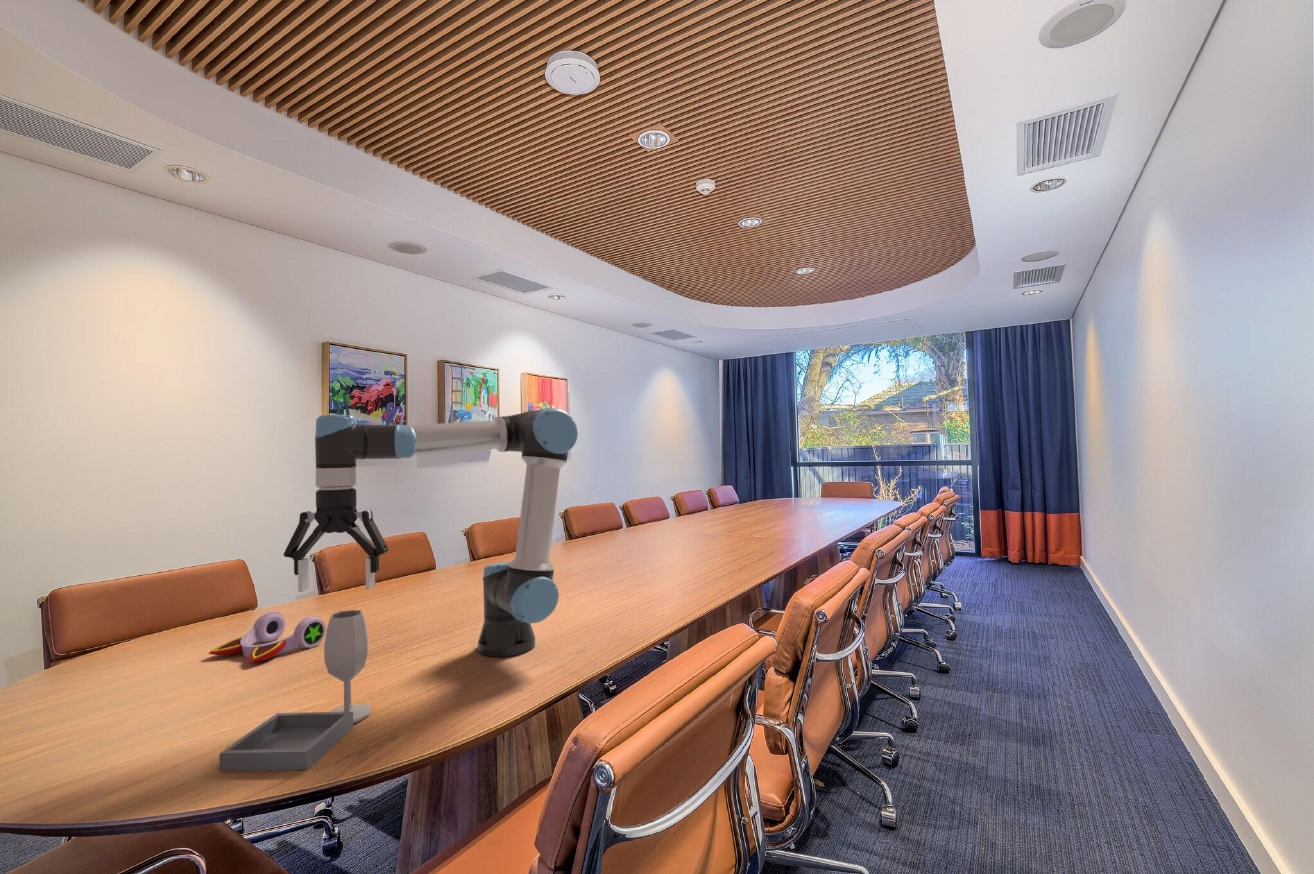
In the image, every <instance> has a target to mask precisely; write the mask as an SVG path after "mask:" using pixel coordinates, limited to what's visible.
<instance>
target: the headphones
mask: <svg viewBox="0 0 1314 874" xmlns="http://www.w3.org/2000/svg"><path fill="white" fill-rule="evenodd" d="M285 629H286V619H285V616H284V615H283V614H282V613H280V612H277V611H270V612H266V613H264V614H262V615H260V616H259V617H258V618H257V619H256V620H255V622H254V624H253V626H252V629H251V630H250V631H248V632H247V633H245V634H243V635H242V636H239V637H236V638H234V639H231V640H229V641H227V642H224V643H223V644H221V645H218V646H217V647H215V648H213V649H212V650H210V651H209V652H208V655H209V654H210V655H214V656H227V655H235V654H239V653H242V654H243V656H244V657H245V658H249V657H250V658H249V660H250V661H251V662H253V663H255V662H262V661H264V660H267V659H270V658H272V657H274V656H277V655H280V654H284V653H287V652H289V651H292V650H293V649H295V648H300V649H304V650H307V649H312V648H314V647H316V646H318V645H319V644H320V643H322V641H323V640H324V638H325V637H326V631H327V626H326V624H325V622H324V621H323V620H321V619H320V617H317V616H307V617H305V618H304V619H302V620H301V621H299V623H297V625H296V626H295V628H294V630H293V634H291V635H289V636H287V637H284V638H282V639H280V640H278V639H279V638H280V637H281V636H282V635H283V633H284V632H285ZM258 641H259V642H261V643H262V644H255V643H256V642H258Z"/></svg>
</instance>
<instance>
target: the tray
mask: <svg viewBox="0 0 1314 874" xmlns="http://www.w3.org/2000/svg"><path fill="white" fill-rule="evenodd" d="M353 728H354V723H353V712H331V711H321V712H320V711H319V712H313V711H312V712H277V713H275V714H274V715H272V716H270V717H269V718H268V719H266V720H264V721H262V722H261V724H259V725H258V726H256V727H255V728H254V729H252V730H250V731H249V732H248V733H247V734H244V735H243V736H242V737H241V738H239V739H237V741H235V742H234V743H232V744H230V745H229V746H227V747H226V748H225V749H223V750H222V751H220V752H219V755H218V756H219V758H218V759H219V760H218V761H219V772H262V771H263V772H265V771H267V772H269V771H272V772H273V771H275V772H276V771H307V770H309V769H310V768H311V767H312V766H314V764H316V763H317V762H318V761H319V760H320V759H321V758H322V757H323V756H324V755H326V753H327V752H329V750H331V749H332V748H333V747H334V746H335V745H336V744H338V742H340V740H341V739H342V738H344V737H345V736H346V735H347V734H348V733H350V731H351V730H352V729H353Z"/></svg>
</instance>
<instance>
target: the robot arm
mask: <svg viewBox="0 0 1314 874" xmlns="http://www.w3.org/2000/svg"><path fill="white" fill-rule="evenodd" d="M577 426H578V425H577V424H576V421H575V420H574V418H573V417H572V416H571V415H570V414H569V413H568V412H567V411H565V410H562V409H560V408H554V407H553V408H551V407H546V408H542V409H536V410H529V411H525V412H521V413H517V414H512V415H504V416H497V417H495V419H494V420H486V421H485V420H480V421H466V422H465V421H464V422H445V423H443V422H442V423H430V424H429V423H428V424H427V423H426V424H425V423H424V424H409V425H407V424H403V425H402V424H369V425H368V424H360V423H359V424H358V423H357V419H356V417H355V415H352V414H323V415H319V416H318V417H317V418H316V420H315V436H314V439H315V441H314V448H315V449H314V450H315V487H316V488H318V489H317V490H316V491H315V507H316V511H315V512H312V511H310V510H308V511H304V512H303V511H302V512H300V514H299V518H298V519H299V521H298V525H297V526H296V528H295V530H294V532H293V535H292V536H291V538H290V540H289V542H288V544H287V546H286V549H285V550H284V552H283V556H284V557H285V558H290V559H292V560H293V574H294V576H297V585H298V587H297V589H298V590H297V591H298V593H303V592H305V591H307V590H309V589H310V569H309V568H310V566H309V565H310V563H309V562H310V560H309V559H310V558H309V557H307V554H308V553H309V552H310V551H311V550H312V548H313V547H314V546H315V545H316V544H317V542H318V541H319V540H320V539H321V538H322V537H323V535H324V534H333V533H337V534H342V533H347V534H348V535H350V536H351V538H352V539H353V540H354V541H355V542H356V544H358V545H359V547H361V548H362V550H363V551H364V552H365V553H366V554H367V555H368V557H366V558H365V590H366V591H368V590H369V591H370V590H372V589H374V588H375V587H376V573H377V572H379V570H380V556H382V555H384V554H386V553H388V552H389V547H388V546H387V545H388V544H387V543H386V542H385V539H384V537H383V535H382V534H381V532H380V530H379V528H378V527H377V524H376V523H375V521H374V517H373V516H374V515H373V514H374V513H373V510H372V509H366V510H363V511H358V510H357V489H356V488H354V487H355V486H356V485H357V460H388V459H389V460H390V459H393V460H394V459H397V460H401V459H410V458H411V457H413V456H418V455H419V456H420V455H433V454H444V453H456V452H458V453H460V452H468V451H469V452H471V451H484V450H496V451H498V452H500V453H503V452H504V453H506V452H516V453H517V452H518V453H521V459H522V460H523V461H524V463H525V464H526V469H525V476H524V477H525V478H524V485H523V493H522V494H523V495H522V500H521V509H520V517H519V518H520V519H519V525H518V526H519V527H518V534H517V539H516V541H517V542H516V549H515V556H514V558H513V559H512V560H511V561H502V562H496V563H490V564H487V565H486V566H485V567H484V569H483V575H482V580H483V583H482V584H483V620H484V621H483V624H482V628H481V630H480V632H479V633H480V634H479V637H478V641H477V652H478V653H479V654H480V655H483V656H486V657H493V658H494V657H496V658H497V657H498V658H504V657H512V656H516V655H521V654H524V653H527V652H529V651H531V650H532V649H533V648H535V646H536V636H535V632H534V629H533V626H532V624H537V623H540V622H543V621H545V620H546V619H547V618H548V617H549V616H551V615H552V613H553V612H554V611H555V609H556V607H557V605H558V602H559V598H560V597H559V596H560V594H559V589H558V586H557V585H556V583H555V581H554V576H555V575H554V573H555V567H554V566H553V564H552V563H551V562H550V556H551V549H552V548H551V546H552V539H553V529H554V522H555V513H556V504H557V497H558V489H559V481H560V473H561V471H560V470H561V468H562V467H563V466H564V465H566V464H567V463H568V455H569V451H570V450H571V449H572V448H574V446H575V445H576V443H577V440H578V434H579V433H578V427H577ZM357 519H359V521H361V522H362V524H363V527H364V529H365V530H366V532H367V534H368V535H369V538H370V539H369V538H368V537H367V536H366V535H365V533H364V532H363V531H362V530H361V528H360V526H359V525H358V524H357V523H356V521H357ZM314 520H315V521H316V522H317V523H318V525H317V526H316V527H315V528H314V529H313V530H312V532H311V534H310V535H309V536H308V538H307V539H306V540H305V541H304V542H303V540H304V538H305V536H306V534H307V531H308V530H309V528H310V526H311V523H312V522H314ZM302 542H303V543H302ZM301 544H302V545H301Z"/></svg>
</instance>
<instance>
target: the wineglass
mask: <svg viewBox="0 0 1314 874" xmlns="http://www.w3.org/2000/svg"><path fill="white" fill-rule="evenodd" d="M366 621H367V620H366V619H365V615H364V613H363V610H360V609H349V610H339V611H337V612H334V613H332V614H331V615H330V617H329V620H328V624H327V626H326V633H325V637H324V638H325V640H324V645H323V651H324V652H323V653H324V654H323V655H324V656H323V657H324V663H325V667H326V670H327V674H329V675H331V676H333V677H334V678H335V679H338V680H340V681H341V682H343V706H341V705H340V706H338V707H335V709H332V710H331V711H330V712H353V724H356V723H359V722H361V721H362V720H363V719H365V718H368V717H369V716H370V714H371V710H372V709H371V708H372V706H371V705H370V704H363V703H354V704H352V680H353V679H354V678H355V677H356V676H357V675H358V674H359V673H360V672H361V671H362V670H363V669H364V668H365V665H366V661H367V657H368V653H369V633H368V627H367V622H366Z"/></svg>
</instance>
